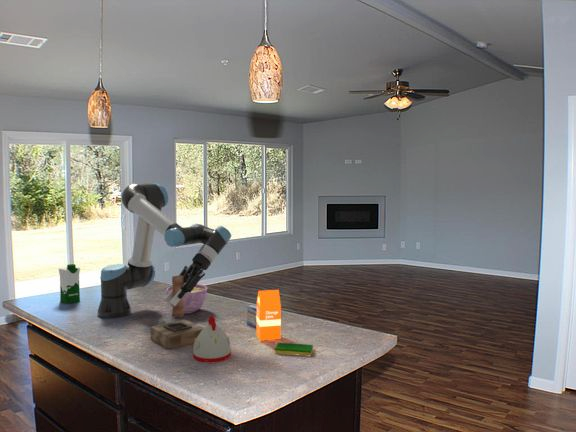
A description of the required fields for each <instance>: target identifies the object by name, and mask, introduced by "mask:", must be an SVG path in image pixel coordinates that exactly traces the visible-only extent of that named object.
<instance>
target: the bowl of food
mask: <svg viewBox="0 0 576 432" xmlns="http://www.w3.org/2000/svg"><path fill="white" fill-rule="evenodd" d="M183 286H184V285H183ZM171 290H172V286H171V285H170V286H169V287H166V296H167V295H168V294H169V292H170V291H171ZM207 293H208V287H207V286H206V285H204V284H198V283H197V284H196V286H195V287H194V288H193V290H192V291H191V292H190V293H189V292H187V293H185V294H184V315H185V314H193V313H195V312H196V311H198V310H200V309H201V308H202V307H203V306H204V303H205V300H206V298H207V297H206V295H207ZM169 305H170V307H171V308H172V309H173V304H172V303H169Z"/></svg>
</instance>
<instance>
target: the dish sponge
mask: <svg viewBox="0 0 576 432" xmlns="http://www.w3.org/2000/svg"><path fill="white" fill-rule="evenodd" d="M312 350H313V351H314V345H313V344H304V343H303V344H301V343H288V342H287V343H286V342H277V344H276V346H275V348H274V354H275V353H282V354H281V355H284V354H299V355H311V354H312V353H313V351H312ZM299 355H298V356H299ZM311 356H312V355H311Z"/></svg>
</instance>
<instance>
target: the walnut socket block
mask: <svg viewBox="0 0 576 432" xmlns="http://www.w3.org/2000/svg"><path fill="white" fill-rule="evenodd" d="M203 328H204V327H203V326H201V325H200V324H199V325H198V324H196V323H194V322H191V321H190V320H187V319H181V320H176V321H172V322H167V323H162V324H157V325H154V326H150V340H153V341H154V342H156V343H157V344H159V345H160V346H163V347H164V348H166V349H168V350H173V349H177V348H181V347H185V346H187V345H191V344H192V345H194V342H195V338H197V337H198V335H199V334H200V332H201V331H202V330H203Z"/></svg>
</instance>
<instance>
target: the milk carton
mask: <svg viewBox="0 0 576 432" xmlns="http://www.w3.org/2000/svg"><path fill="white" fill-rule="evenodd" d="M80 270H81V268H80V267H76V264H75V263H70V264H67V265H66V267H60V268H58V274H59V289H60V294H59V295H60V298H59V301H60V303H63V304H67V305H69V304H73V303H77V302H80V301H81V294H80V292H81V291H80V272H81V271H80Z"/></svg>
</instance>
